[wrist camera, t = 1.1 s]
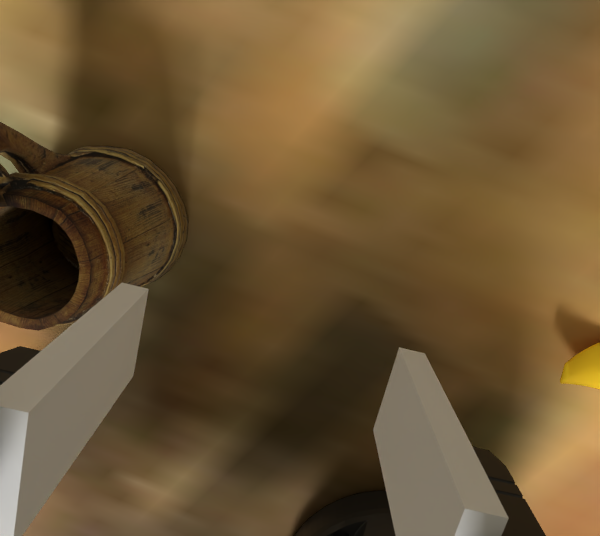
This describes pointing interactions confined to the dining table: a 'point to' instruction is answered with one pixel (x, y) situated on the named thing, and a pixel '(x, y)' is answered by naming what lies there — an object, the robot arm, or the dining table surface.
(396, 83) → the dining table surface
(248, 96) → the dining table surface
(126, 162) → the wooden mug
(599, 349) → the banana peel
